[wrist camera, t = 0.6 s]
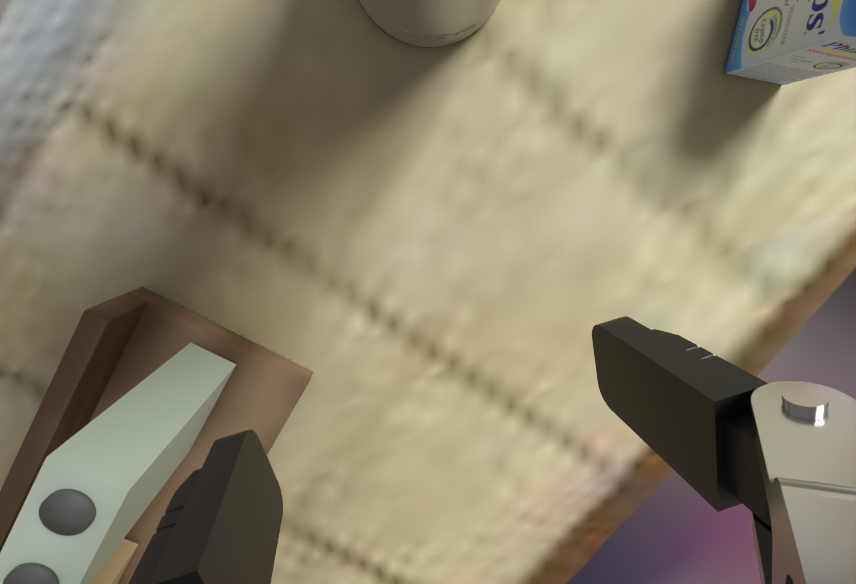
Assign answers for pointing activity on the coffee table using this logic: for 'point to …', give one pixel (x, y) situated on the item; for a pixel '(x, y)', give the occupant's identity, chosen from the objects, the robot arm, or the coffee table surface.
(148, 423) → the tile two
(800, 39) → the medicine box
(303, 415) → the coffee table surface
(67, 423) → the tile rack
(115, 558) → the tile one
